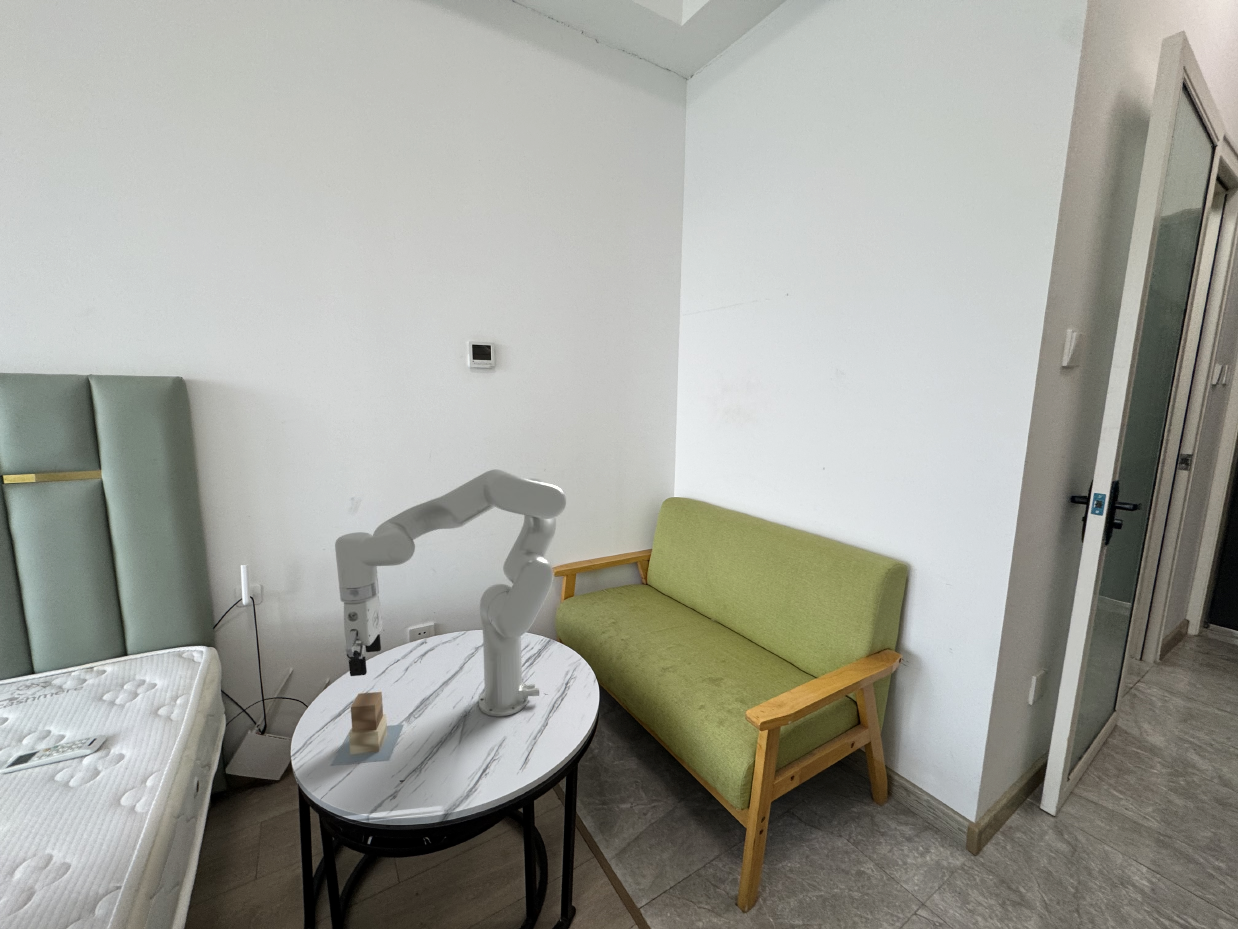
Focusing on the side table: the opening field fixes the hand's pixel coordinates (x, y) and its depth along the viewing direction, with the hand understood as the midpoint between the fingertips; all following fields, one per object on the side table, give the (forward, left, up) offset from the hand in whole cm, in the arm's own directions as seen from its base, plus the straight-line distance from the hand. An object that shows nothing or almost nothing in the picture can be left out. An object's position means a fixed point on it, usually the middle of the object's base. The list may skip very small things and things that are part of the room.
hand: (366, 662), depth 112 cm
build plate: (0, 0, -20) cm, 20 cm away
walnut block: (0, 0, -15) cm, 15 cm away
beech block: (0, 0, -20) cm, 20 cm away
